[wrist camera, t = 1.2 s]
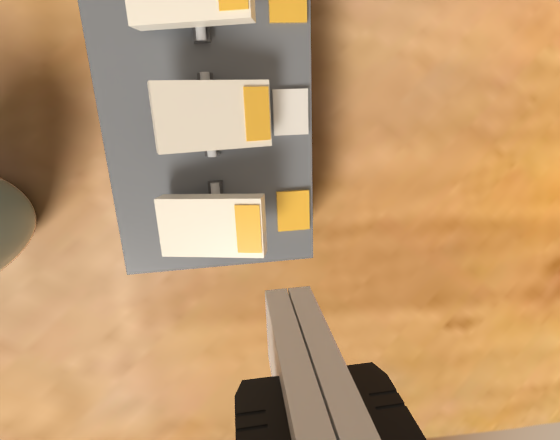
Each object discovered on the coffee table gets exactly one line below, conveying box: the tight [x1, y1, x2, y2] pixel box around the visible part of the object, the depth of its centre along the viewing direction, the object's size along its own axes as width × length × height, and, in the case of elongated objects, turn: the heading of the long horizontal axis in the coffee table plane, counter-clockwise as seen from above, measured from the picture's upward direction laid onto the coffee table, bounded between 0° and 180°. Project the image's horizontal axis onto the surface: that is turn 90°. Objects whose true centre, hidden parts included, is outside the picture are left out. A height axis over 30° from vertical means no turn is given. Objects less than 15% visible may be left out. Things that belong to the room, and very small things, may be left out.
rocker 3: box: [154, 193, 267, 258], centre depth 24 cm, size 7×4×2 cm, turn 92°
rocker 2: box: [147, 80, 272, 155], centre depth 22 cm, size 7×4×2 cm, turn 91°
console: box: [78, 0, 313, 275], centre depth 26 cm, size 14×22×7 cm, turn 2°
